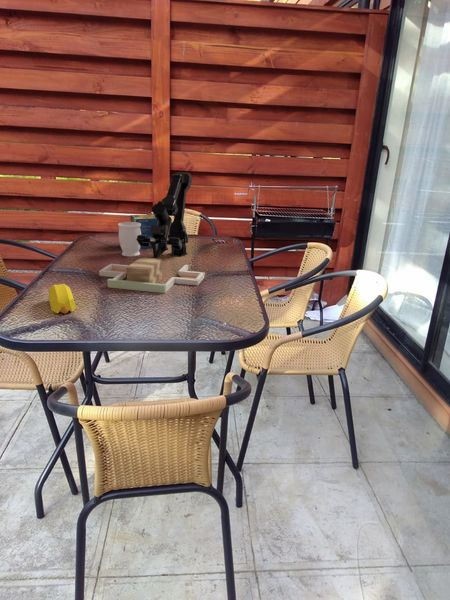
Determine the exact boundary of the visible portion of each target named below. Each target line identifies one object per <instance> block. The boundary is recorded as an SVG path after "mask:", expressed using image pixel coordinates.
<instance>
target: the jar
mask: <svg viewBox="0 0 450 600" xmlns="http://www.w3.org/2000/svg"><path fill="white" fill-rule="evenodd" d="M140 226H141V223H138V222H131V221H124V222H123V221H122V222H118V225H117V227H119V228H118V242H119V245H120V248H121V250H122V253H121V256H123V257H128V258H129V257H131V258H132V257H137V256H140V255H141V253H140V250H141V249H140V245H139V243H138V242H137V240H136V239H137V236H138V235H141V230H140Z"/></svg>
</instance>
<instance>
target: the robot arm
mask: <svg viewBox="0 0 450 600" xmlns="http://www.w3.org/2000/svg"><path fill="white" fill-rule="evenodd" d="M170 180H171V181H170V184H169V187H168V189H167V192H166V196H165V197H163V198H162V199H161V200H159V201H158V202H157V203H155V204H153V206H152V207H151V212H152V214H154V216H155V218H156V220H157V221H158V223H157V226H152V225H151V227H150V233H151V234H152V237H154V238H150V239H149V238H148V237H147V235H138V236H137V239H136V240H137V242H138V243H139V245H140V246H142V247H148V246H149V244H150V246H151V248H150V249H151V250H152V254H153V258H155V259H160V257H161V256H162V254H164V253H165V252H166V251H169V246H171V251H170V252H169V255H171V256H175V257H182V256H183V257H184V256H185V255H188V252H187V245H186V244H188V243H189V235H188V233H187V228H186V225H185V224H184V223H185V222H184V219H185V209H186V199H187V193H188V191H189V190H190V189H191V188H192V187H191V185H192V183H193V176H192V175H191V174H190V173H189V172H176V173H173V174H172V175H171V179H170ZM171 217H173V220H172V218H171ZM157 245H158V246H157Z"/></svg>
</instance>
